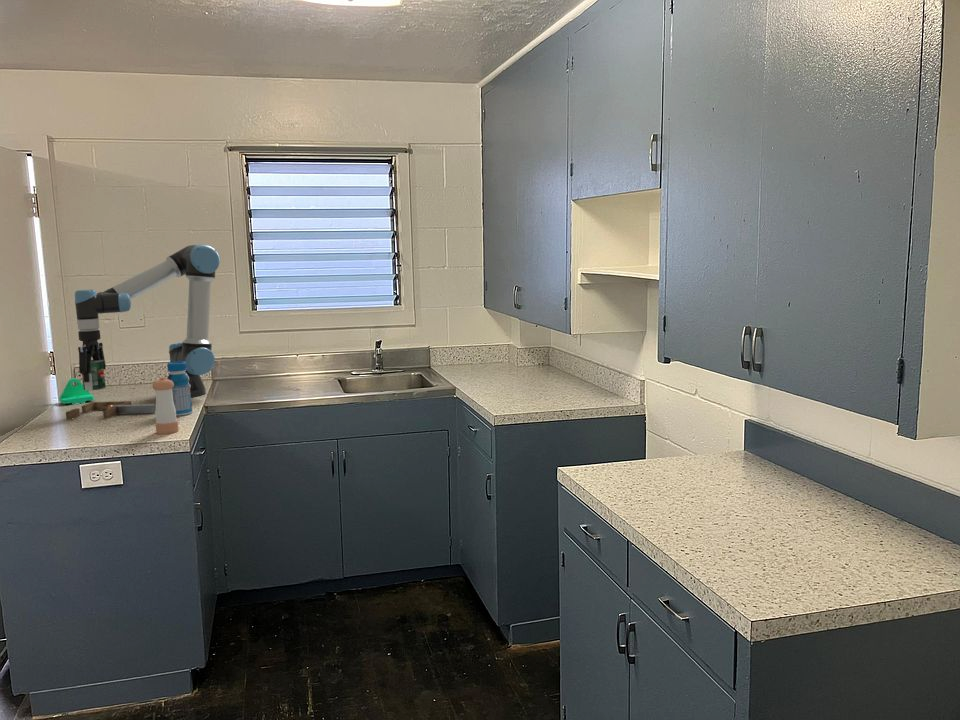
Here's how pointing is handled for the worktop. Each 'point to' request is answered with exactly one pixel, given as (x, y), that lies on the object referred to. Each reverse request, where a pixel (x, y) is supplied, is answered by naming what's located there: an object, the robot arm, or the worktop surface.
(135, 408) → the bar
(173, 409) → the pepper shaker
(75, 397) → the camera mount
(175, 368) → the beverage bottle
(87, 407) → the frame
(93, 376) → the canned tomato
